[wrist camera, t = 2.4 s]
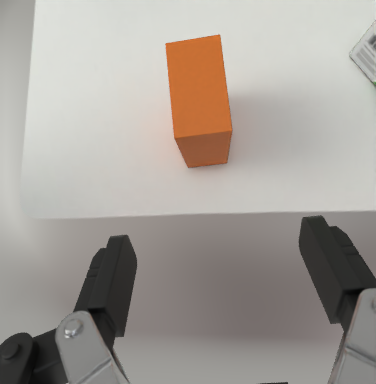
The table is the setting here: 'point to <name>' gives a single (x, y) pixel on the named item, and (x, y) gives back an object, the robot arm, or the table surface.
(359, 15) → the table surface
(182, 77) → the block
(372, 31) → the ink box
